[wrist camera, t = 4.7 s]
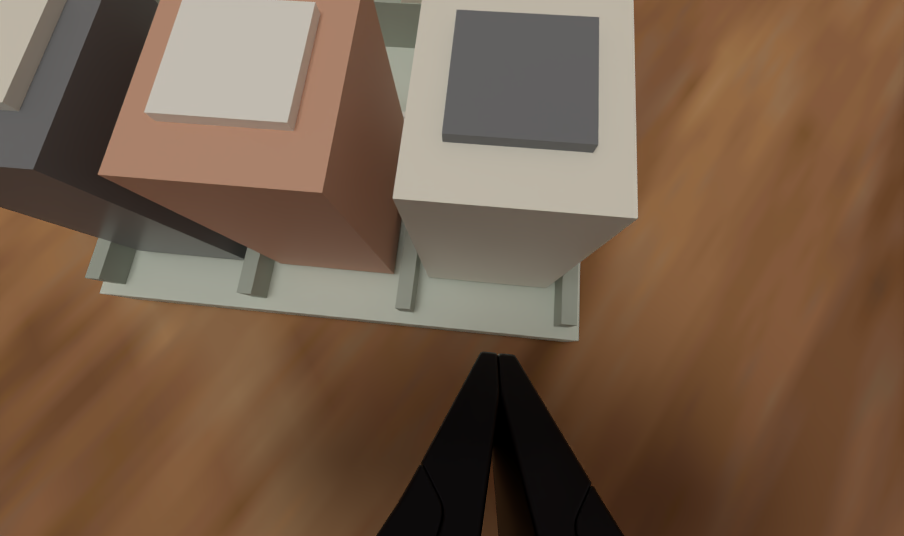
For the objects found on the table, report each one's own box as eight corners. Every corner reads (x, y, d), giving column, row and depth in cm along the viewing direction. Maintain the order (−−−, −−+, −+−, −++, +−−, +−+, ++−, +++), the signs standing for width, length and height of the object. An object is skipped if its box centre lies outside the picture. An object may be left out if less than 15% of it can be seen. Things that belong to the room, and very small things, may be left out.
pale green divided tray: (566, 341, 16) (606, 338, 12) (136, 299, 17) (19, 280, 13) (573, 69, 20) (606, -16, 15) (212, 47, 21) (142, -39, 16)
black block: (247, 260, 16) (16, 162, 7) (139, 250, 16) (-198, 145, 8) (276, 139, 17) (107, -55, 9) (176, 132, 17) (-77, -64, 9)
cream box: (546, 287, 15) (645, 212, 7) (428, 277, 15) (389, 192, 7) (551, 159, 16) (639, -31, 8) (442, 151, 16) (424, -40, 8)
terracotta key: (393, 274, 15) (316, 186, 7) (281, 263, 15) (83, 167, 7) (411, 149, 17) (362, -43, 8) (307, 141, 17) (164, -53, 9)
